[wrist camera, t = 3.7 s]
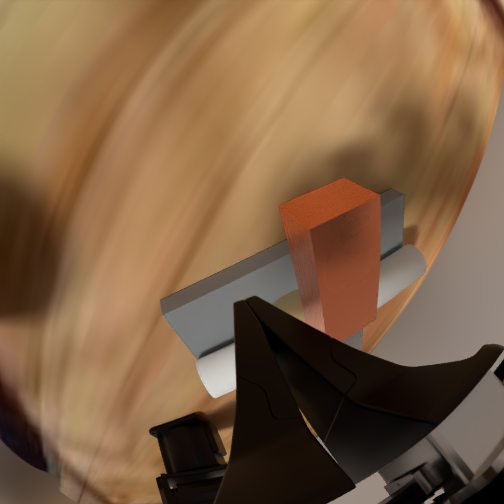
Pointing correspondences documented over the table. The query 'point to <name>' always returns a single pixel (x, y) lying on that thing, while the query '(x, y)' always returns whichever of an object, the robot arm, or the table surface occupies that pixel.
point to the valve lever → (336, 257)
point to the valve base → (272, 295)
